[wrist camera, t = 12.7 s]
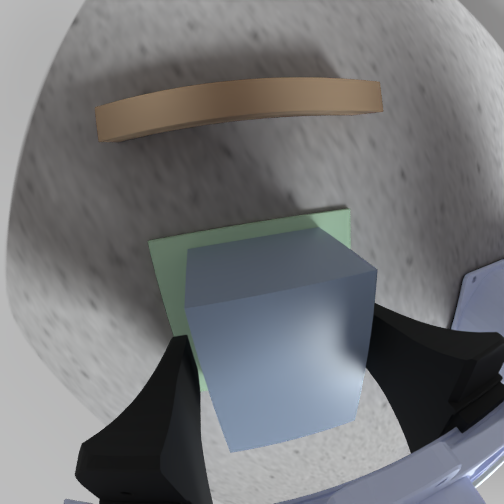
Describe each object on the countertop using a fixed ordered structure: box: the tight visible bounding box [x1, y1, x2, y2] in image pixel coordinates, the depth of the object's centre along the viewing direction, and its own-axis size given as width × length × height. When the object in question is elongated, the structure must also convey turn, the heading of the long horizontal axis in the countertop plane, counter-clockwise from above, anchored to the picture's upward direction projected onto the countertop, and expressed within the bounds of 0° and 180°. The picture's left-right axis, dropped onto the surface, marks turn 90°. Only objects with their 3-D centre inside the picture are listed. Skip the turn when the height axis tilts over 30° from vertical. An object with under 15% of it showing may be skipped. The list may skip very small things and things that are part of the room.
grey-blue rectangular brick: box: [184, 227, 377, 453], centre depth 12 cm, size 6×8×5 cm
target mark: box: [148, 208, 350, 392], centre depth 14 cm, size 9×9×1 cm
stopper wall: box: [95, 77, 383, 142], centre depth 10 cm, size 10×1×2 cm, turn 97°
